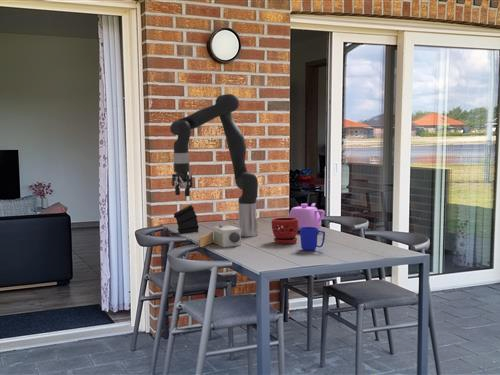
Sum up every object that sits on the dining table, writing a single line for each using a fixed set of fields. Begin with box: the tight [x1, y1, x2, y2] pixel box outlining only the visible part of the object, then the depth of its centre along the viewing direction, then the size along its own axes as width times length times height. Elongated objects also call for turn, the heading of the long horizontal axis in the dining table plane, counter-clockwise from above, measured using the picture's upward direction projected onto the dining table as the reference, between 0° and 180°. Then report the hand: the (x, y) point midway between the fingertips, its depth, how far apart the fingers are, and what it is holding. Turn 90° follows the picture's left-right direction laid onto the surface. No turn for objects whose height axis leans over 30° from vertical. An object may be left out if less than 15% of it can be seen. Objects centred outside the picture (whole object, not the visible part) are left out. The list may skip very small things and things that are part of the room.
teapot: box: [288, 202, 326, 232], centre depth 320 cm, size 23×21×15 cm
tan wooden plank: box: [198, 231, 214, 248], centre depth 279 cm, size 2×14×5 cm, turn 160°
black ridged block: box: [173, 204, 200, 234], centre depth 315 cm, size 4×13×15 cm, turn 108°
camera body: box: [213, 224, 242, 248], centre depth 280 cm, size 9×15×9 cm, turn 25°
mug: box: [299, 227, 326, 252], centre depth 264 cm, size 8×12×10 cm
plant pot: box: [271, 216, 299, 245], centre depth 283 cm, size 13×13×12 cm
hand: (182, 195), depth 279 cm, fingers open, 8 cm apart
